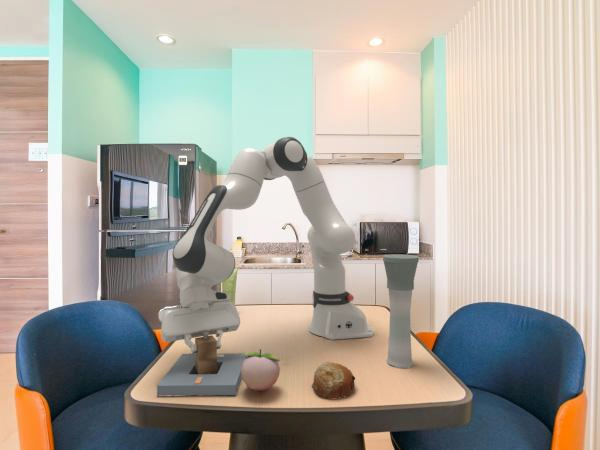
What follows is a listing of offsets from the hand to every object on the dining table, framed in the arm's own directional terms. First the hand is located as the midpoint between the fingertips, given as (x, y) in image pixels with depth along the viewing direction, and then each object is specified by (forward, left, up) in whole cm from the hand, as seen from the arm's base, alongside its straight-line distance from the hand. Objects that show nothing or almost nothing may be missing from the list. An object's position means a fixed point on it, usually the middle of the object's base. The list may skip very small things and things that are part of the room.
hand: (206, 350), depth 88 cm
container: (-52, -9, -7) cm, 53 cm away
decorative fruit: (-14, +7, -7) cm, 18 cm away
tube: (+5, -58, -7) cm, 58 cm away
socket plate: (0, -1, -7) cm, 7 cm away
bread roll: (-32, +5, -8) cm, 33 cm away
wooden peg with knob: (0, -1, -5) cm, 5 cm away
